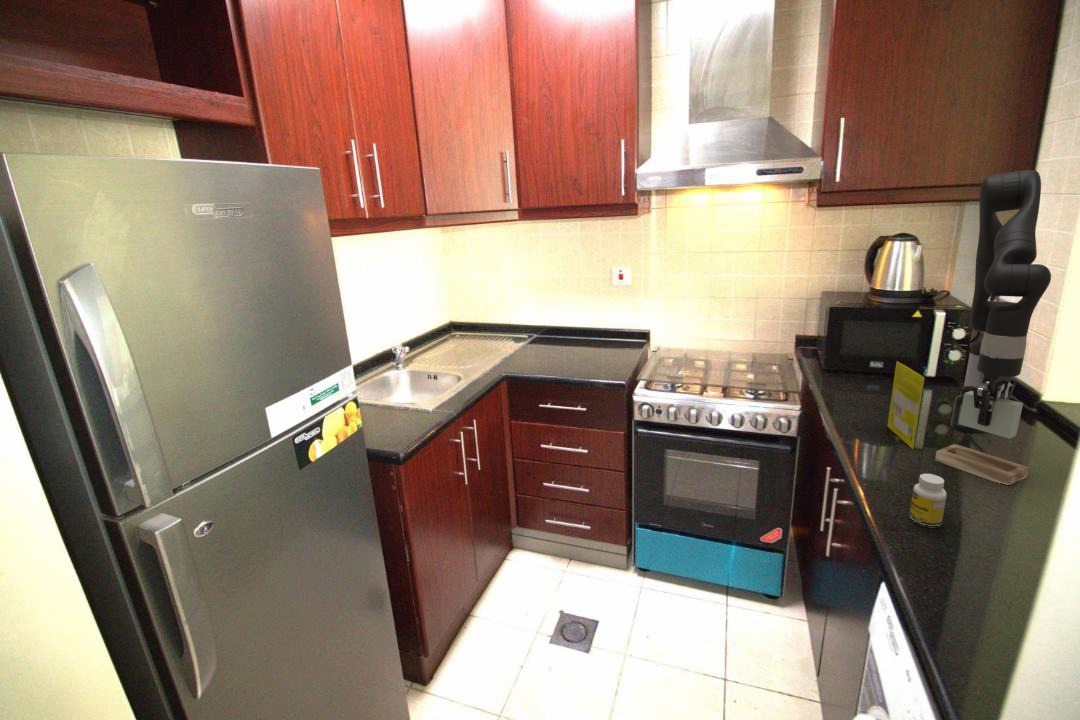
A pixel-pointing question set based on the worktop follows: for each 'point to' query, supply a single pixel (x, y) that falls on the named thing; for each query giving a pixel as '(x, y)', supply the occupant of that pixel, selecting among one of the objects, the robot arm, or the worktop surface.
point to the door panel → (1002, 416)
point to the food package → (905, 403)
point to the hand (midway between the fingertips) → (987, 422)
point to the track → (982, 464)
